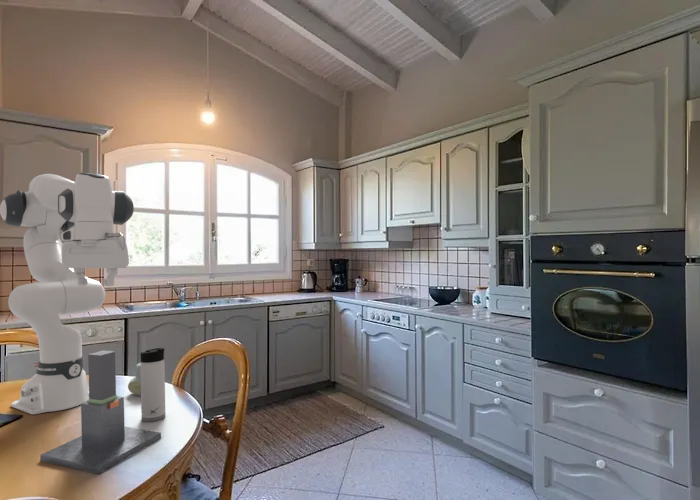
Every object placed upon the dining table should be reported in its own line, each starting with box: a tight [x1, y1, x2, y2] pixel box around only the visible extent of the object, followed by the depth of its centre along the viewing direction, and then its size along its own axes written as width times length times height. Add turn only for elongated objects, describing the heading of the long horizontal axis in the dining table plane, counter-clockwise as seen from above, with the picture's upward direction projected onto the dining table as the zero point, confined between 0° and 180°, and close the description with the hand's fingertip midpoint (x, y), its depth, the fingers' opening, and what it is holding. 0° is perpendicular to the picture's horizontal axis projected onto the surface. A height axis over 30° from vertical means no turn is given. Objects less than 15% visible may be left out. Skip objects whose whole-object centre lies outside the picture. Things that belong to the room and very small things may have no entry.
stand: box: [39, 395, 162, 475], centre depth 104 cm, size 18×18×12 cm
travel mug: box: [139, 347, 166, 423], centre depth 122 cm, size 6×7×20 cm
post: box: [87, 350, 118, 405], centre depth 104 cm, size 4×4×16 cm
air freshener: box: [127, 362, 141, 397], centre depth 144 cm, size 11×8×10 cm
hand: (95, 285), depth 113 cm, fingers open, 8 cm apart
